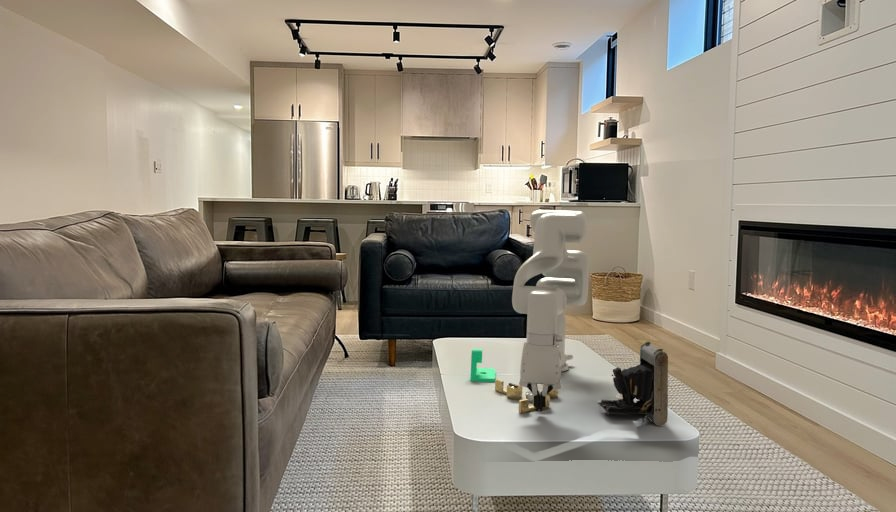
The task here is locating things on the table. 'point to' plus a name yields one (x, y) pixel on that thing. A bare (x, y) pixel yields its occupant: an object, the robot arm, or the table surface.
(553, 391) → the foot screw
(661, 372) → the vintage camera
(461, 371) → the table surface
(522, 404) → the foot screw
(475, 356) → the camera mount
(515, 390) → the foot screw
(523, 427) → the table surface
